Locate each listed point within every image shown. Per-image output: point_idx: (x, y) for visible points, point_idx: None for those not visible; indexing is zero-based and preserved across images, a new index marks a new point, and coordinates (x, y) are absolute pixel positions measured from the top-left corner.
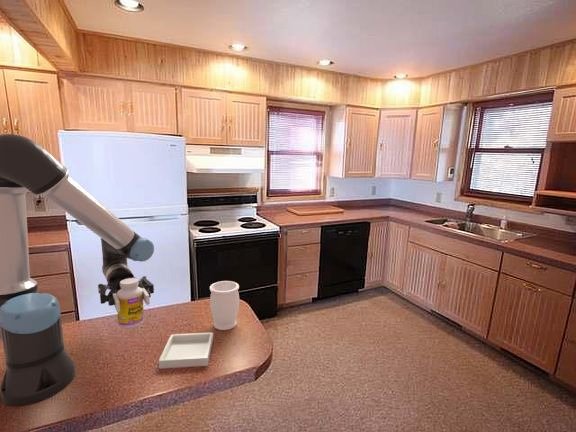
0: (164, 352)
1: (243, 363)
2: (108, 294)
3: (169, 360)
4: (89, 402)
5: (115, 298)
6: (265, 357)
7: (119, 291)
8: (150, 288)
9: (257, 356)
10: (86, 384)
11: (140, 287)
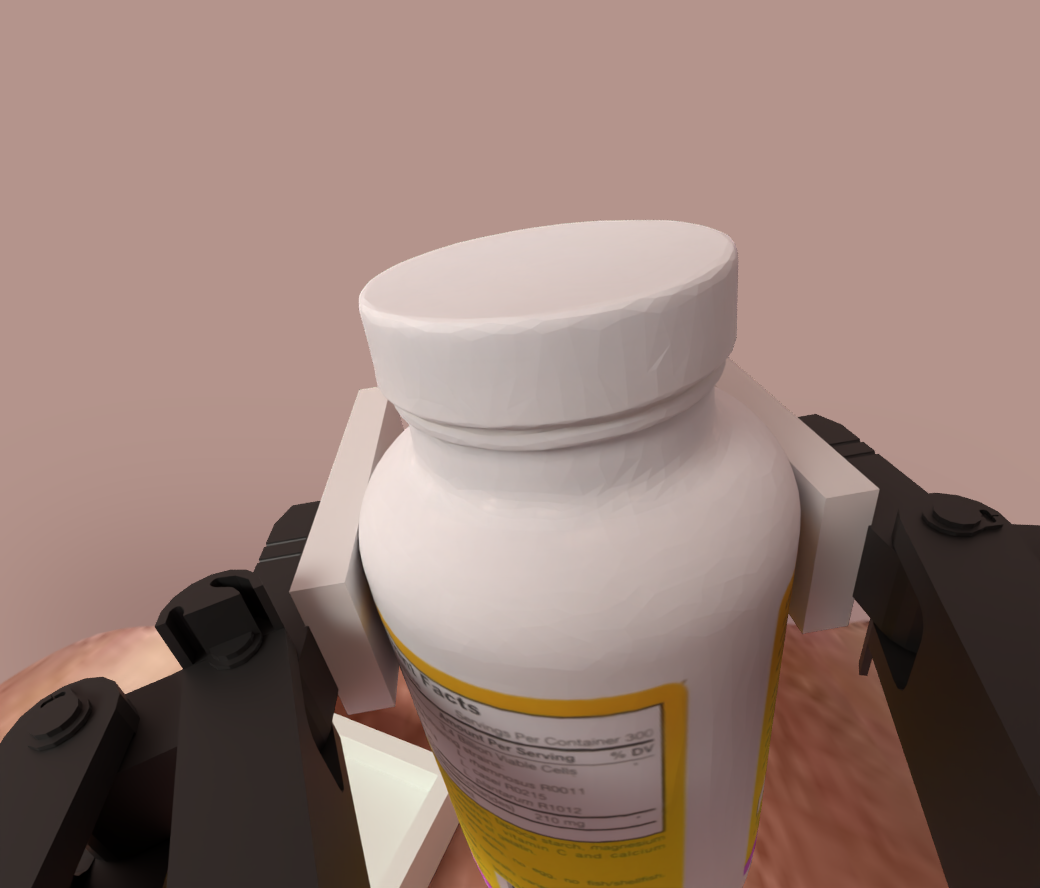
0: (403, 851)
1: (144, 657)
2: (985, 513)
3: (407, 742)
4: (796, 679)
5: (744, 379)
6: (49, 657)
7: (728, 398)
8: (162, 686)
9: (59, 676)
10: (900, 842)
11: (309, 762)
